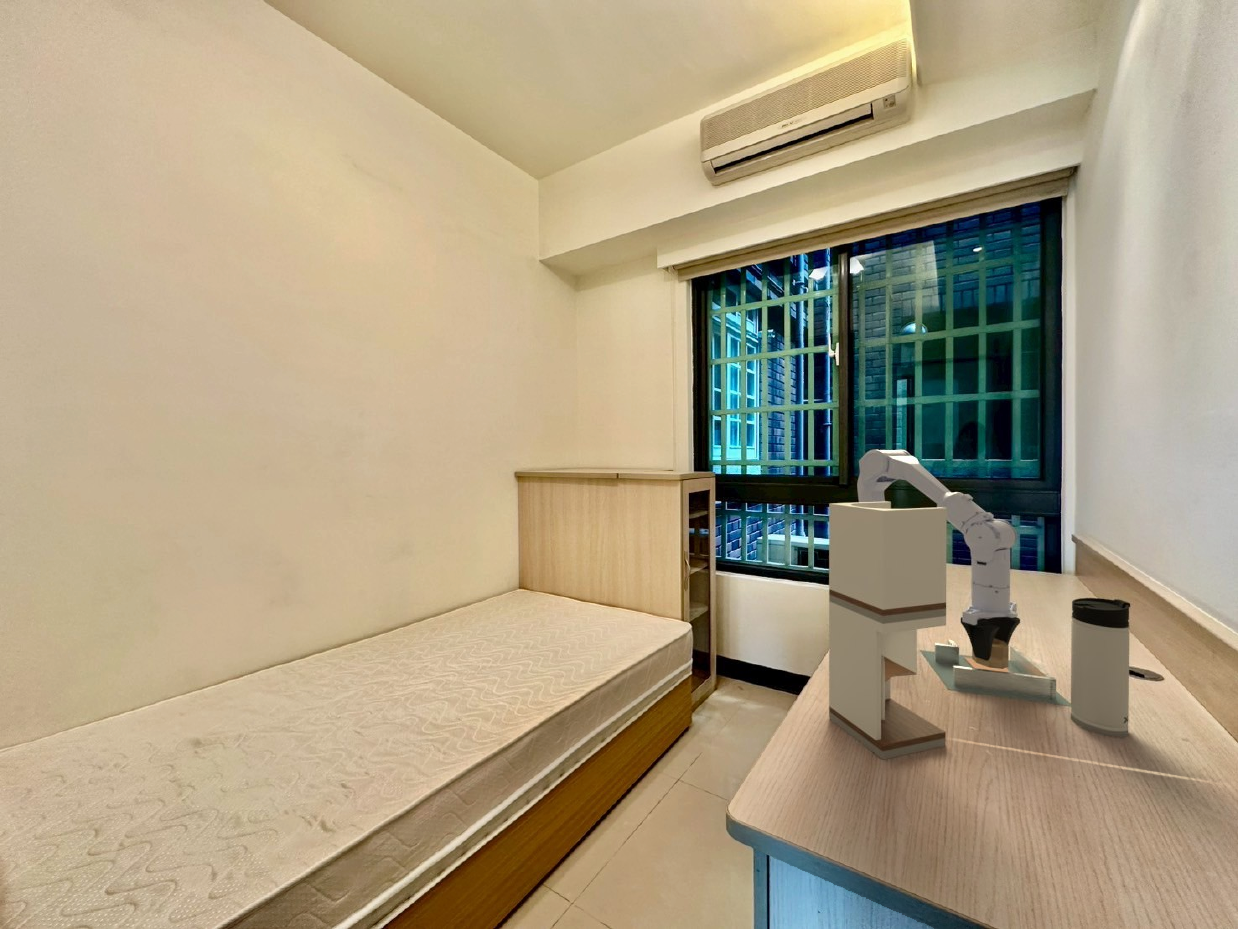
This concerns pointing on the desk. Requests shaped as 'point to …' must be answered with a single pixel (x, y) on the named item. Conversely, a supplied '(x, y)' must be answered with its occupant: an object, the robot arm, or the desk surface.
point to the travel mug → (1100, 665)
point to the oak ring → (996, 655)
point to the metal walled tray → (1000, 674)
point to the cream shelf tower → (882, 618)
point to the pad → (979, 666)
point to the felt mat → (947, 678)
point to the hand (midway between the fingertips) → (989, 655)
